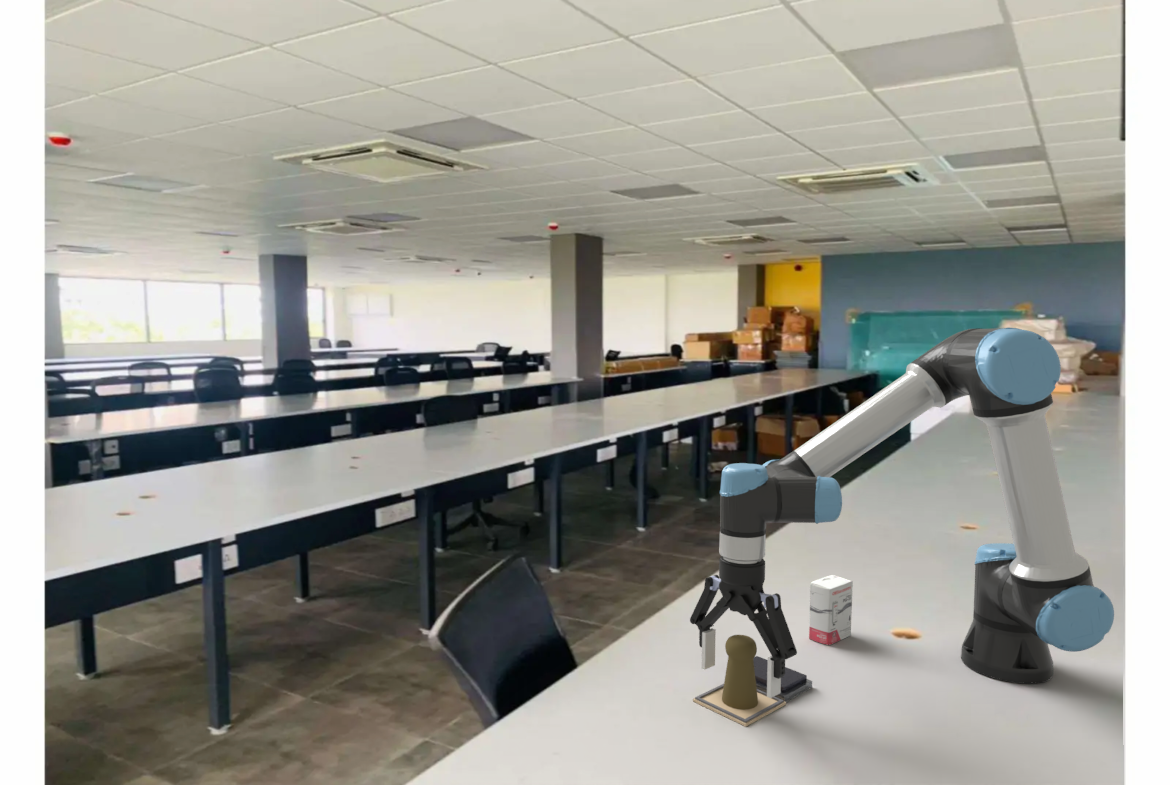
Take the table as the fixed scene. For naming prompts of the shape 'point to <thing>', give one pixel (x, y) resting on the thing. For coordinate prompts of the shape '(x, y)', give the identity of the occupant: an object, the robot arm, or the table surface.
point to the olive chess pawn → (740, 673)
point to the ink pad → (790, 682)
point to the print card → (743, 717)
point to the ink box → (830, 609)
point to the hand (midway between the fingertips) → (739, 680)
